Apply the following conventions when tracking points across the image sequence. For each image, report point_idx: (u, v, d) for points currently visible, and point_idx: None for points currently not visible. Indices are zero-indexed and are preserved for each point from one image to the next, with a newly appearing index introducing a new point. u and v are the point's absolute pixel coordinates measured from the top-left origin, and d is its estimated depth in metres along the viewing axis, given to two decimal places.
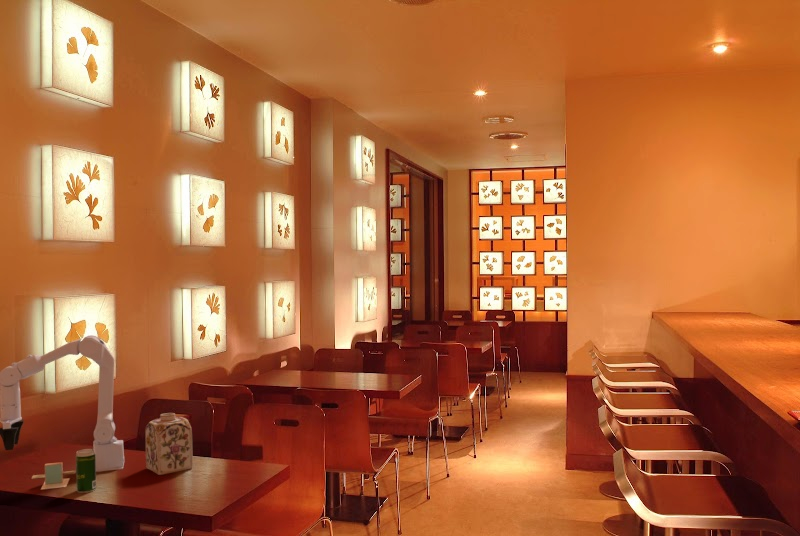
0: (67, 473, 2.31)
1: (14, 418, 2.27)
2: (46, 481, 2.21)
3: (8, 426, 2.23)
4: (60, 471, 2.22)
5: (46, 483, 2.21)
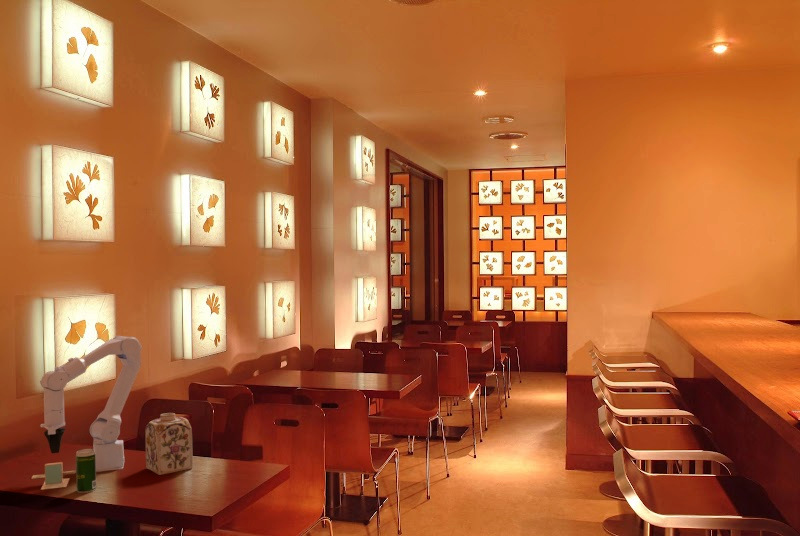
0: (67, 473, 2.31)
1: (58, 423, 2.25)
2: (46, 481, 2.21)
3: (53, 432, 2.20)
4: (60, 471, 2.22)
5: (46, 483, 2.21)
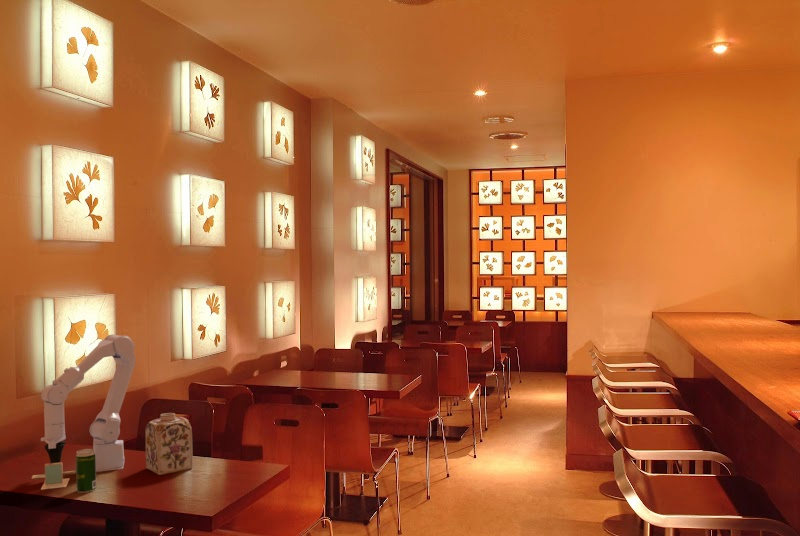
0: (67, 473, 2.31)
1: (59, 437, 2.25)
2: (46, 481, 2.21)
3: (53, 446, 2.20)
4: (60, 471, 2.22)
5: (46, 483, 2.21)
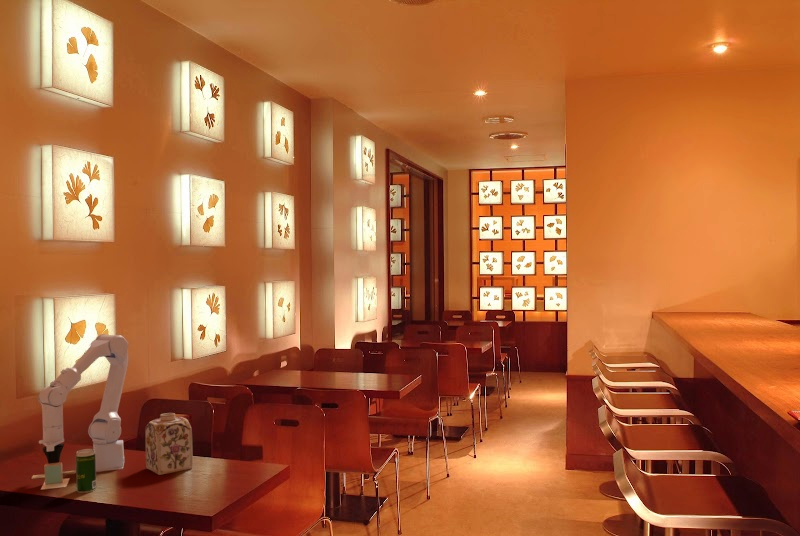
0: (67, 473, 2.31)
1: (57, 440, 2.21)
2: (46, 481, 2.20)
3: (52, 448, 2.17)
4: (60, 471, 2.21)
5: (46, 483, 2.21)
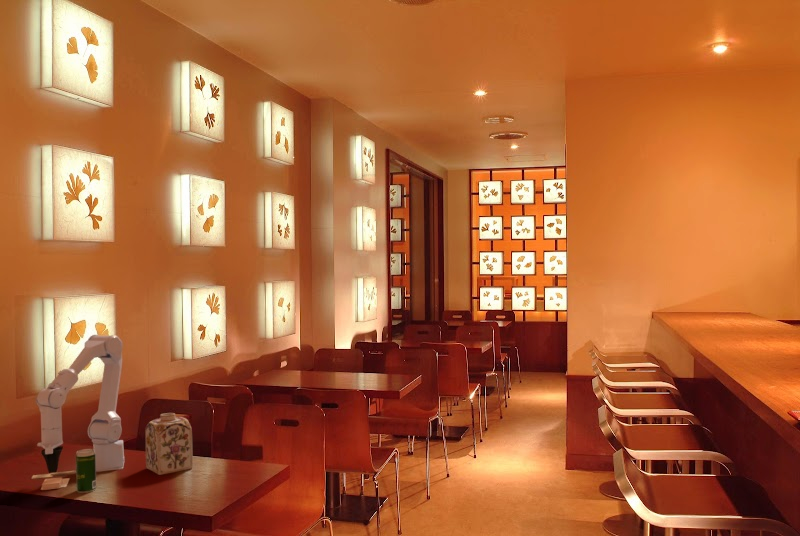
0: (67, 473, 2.31)
1: (56, 442, 2.18)
2: None
3: (50, 451, 2.13)
4: None
5: None
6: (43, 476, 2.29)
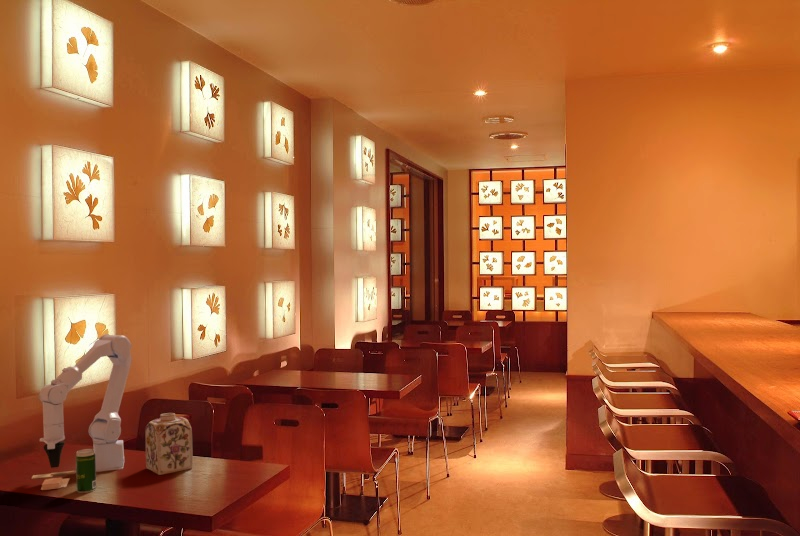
0: (67, 473, 2.31)
1: (58, 437, 2.22)
2: None
3: (52, 446, 2.18)
4: None
5: None
6: (43, 476, 2.29)
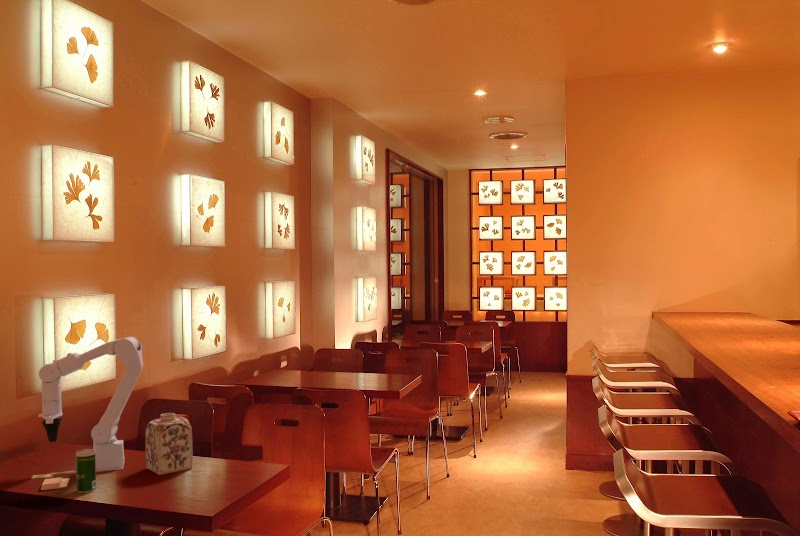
0: (67, 473, 2.31)
1: (56, 413, 2.34)
2: None
3: (51, 421, 2.29)
4: None
5: None
6: (43, 476, 2.29)
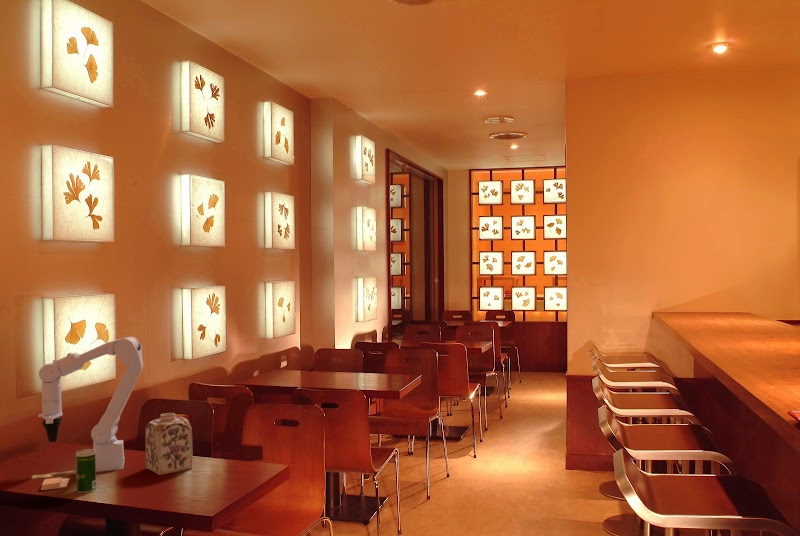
0: (67, 473, 2.31)
1: (56, 413, 2.34)
2: None
3: (51, 421, 2.29)
4: None
5: None
6: (43, 476, 2.29)
